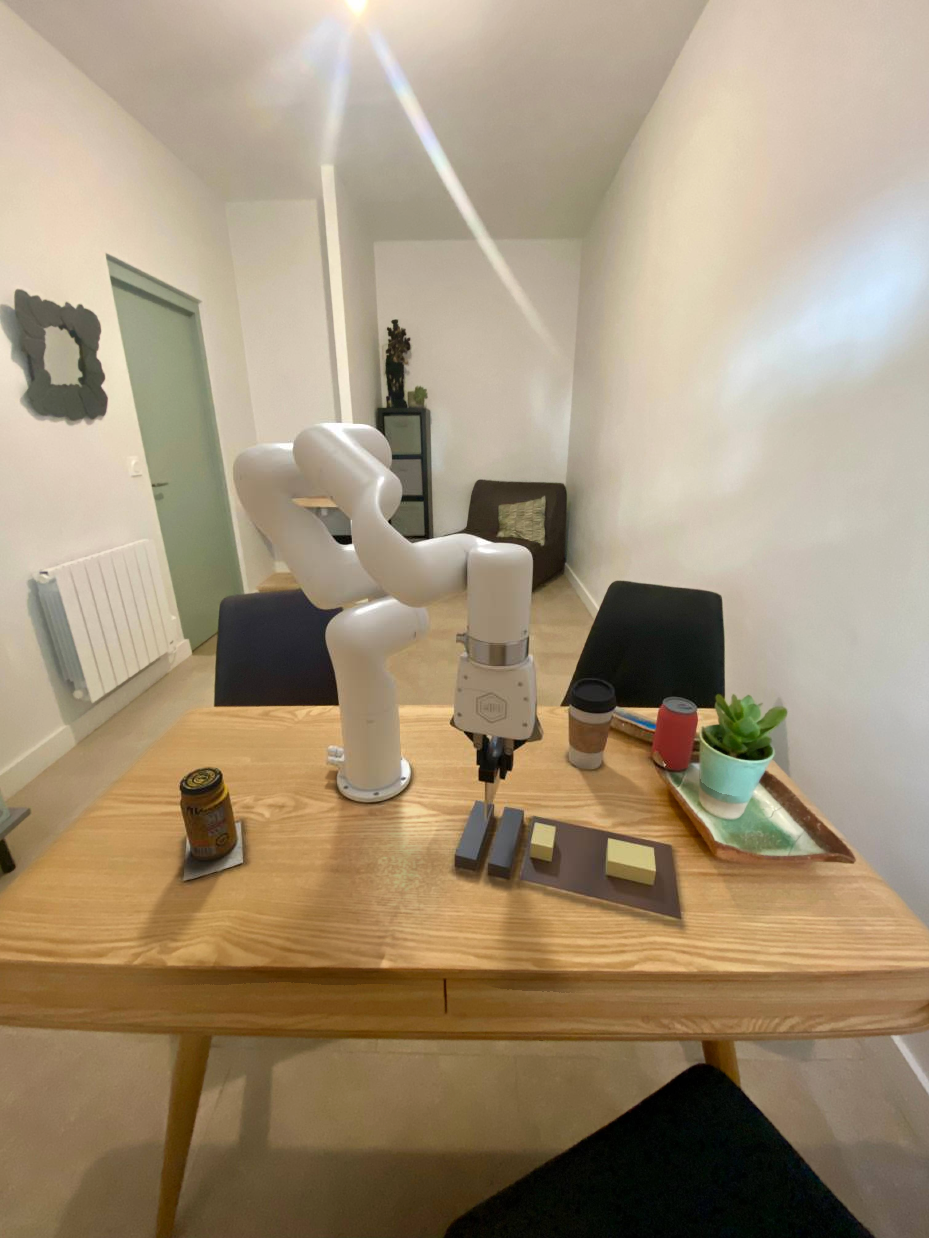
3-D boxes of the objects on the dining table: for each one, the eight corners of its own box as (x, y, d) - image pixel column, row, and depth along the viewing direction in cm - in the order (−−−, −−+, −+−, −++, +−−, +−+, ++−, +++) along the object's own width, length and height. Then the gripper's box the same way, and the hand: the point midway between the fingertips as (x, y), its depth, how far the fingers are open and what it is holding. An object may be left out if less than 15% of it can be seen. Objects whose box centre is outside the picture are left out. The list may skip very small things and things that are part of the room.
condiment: (240, 822, 74) (228, 757, 70) (243, 863, 67) (229, 793, 63) (187, 838, 71) (170, 771, 67) (183, 882, 64) (164, 810, 60)
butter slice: (529, 856, 67) (530, 842, 66) (534, 835, 71) (535, 822, 70) (551, 861, 66) (552, 847, 65) (554, 840, 70) (555, 826, 69)
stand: (454, 871, 66) (454, 854, 65) (475, 815, 76) (475, 800, 75) (509, 885, 64) (510, 868, 63) (523, 825, 74) (524, 810, 73)
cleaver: (478, 819, 62) (478, 769, 59) (495, 771, 71) (496, 726, 68) (493, 822, 62) (494, 771, 59) (508, 773, 71) (509, 728, 68)
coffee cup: (614, 755, 90) (624, 684, 85) (600, 780, 84) (609, 705, 78) (571, 741, 95) (578, 672, 89) (554, 763, 88) (561, 691, 83)
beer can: (692, 775, 85) (704, 716, 81) (653, 770, 86) (663, 712, 82) (684, 752, 91) (695, 697, 87) (647, 748, 92) (657, 693, 88)
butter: (605, 874, 64) (607, 860, 63) (606, 851, 68) (608, 837, 67) (653, 885, 63) (656, 871, 62) (651, 861, 66) (653, 847, 66)
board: (518, 884, 64) (519, 878, 64) (532, 820, 75) (532, 815, 74) (680, 925, 59) (681, 919, 58) (670, 849, 70) (671, 844, 69)
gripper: (425, 650, 57) (429, 778, 64) (560, 667, 53) (550, 801, 59) (445, 628, 64) (447, 745, 70) (566, 641, 60) (557, 765, 66)
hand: (494, 770), depth 65 cm, fingers closed on cleaver, 2 cm apart
